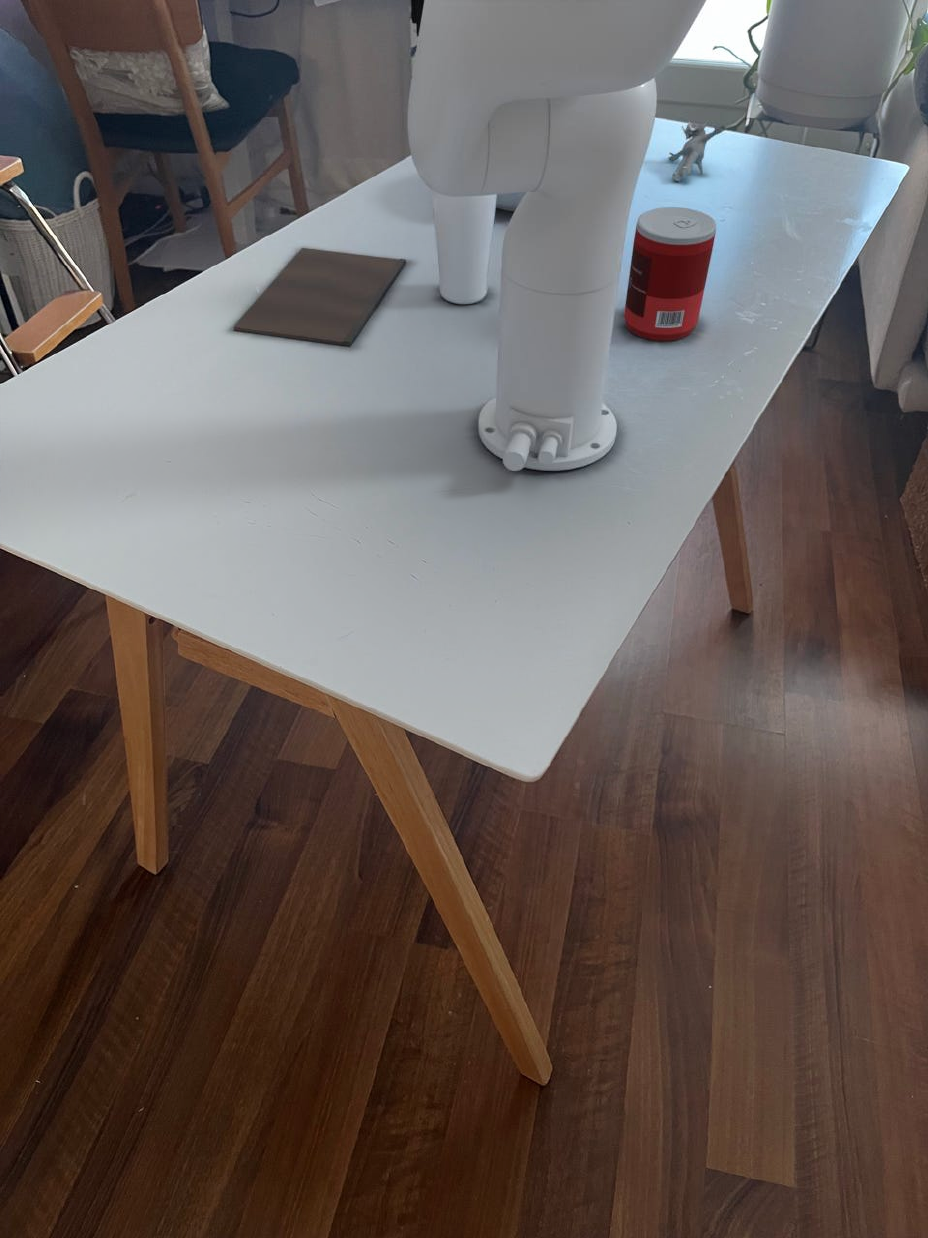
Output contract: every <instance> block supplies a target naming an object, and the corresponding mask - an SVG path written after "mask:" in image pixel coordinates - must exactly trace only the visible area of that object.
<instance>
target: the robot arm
mask: <svg viewBox="0 0 928 1238" xmlns="http://www.w3.org/2000/svg"><path fill="white" fill-rule="evenodd" d="M706 2H707V0H410V13H411V14H410V15H411V17H410V18H411V23H412V24H415V26H416V37H418V38H417V42H416V43H417V44H416V49H415V54H414V55H415V56H414V60H413V61H414V62H413V68H412V73H411V78H410V87H409V94H408V101H407V119H406V122H407V124H406V126H407V139H408V146H409V151H410V156H411V159H412V163H413V165H414V168H415V171H416V172H417V174H418V176H419V177H420V179H421V181H423V183H424V184H425V185H426V186H427V187H428V188H429V189H430V190H431V191H432V190H434V191H435V192H437V193H439V194H442V195H445V196H451V197H469V196H485V195H496V194H507V193H518V192H527V193H526V194H525V196H524V197H523V199H522V200H521V202H520V204H519V205H518V207H517V208H516V210H515V211H513V214H512V216H511V218H510V220H509V222H508V225H507V227H506V230H505V232H504V237H503V242H502V250H501V265H500V288H499V289H500V290H499V291H500V293H499V315H498V316H499V318H498V342H497V343H498V345H497V368H496V369H497V371H496V393H495V394H496V395H495V396H494V397H492V398H490V400H488V401H487V402H486V403H485V405H484V406H483V407H482V408H481V410H480V412H479V415H478V426H477V428H478V436H479V438H480V441H481V442H482V443H483V445H484V446H485V447H486V449H487V450H489V451H490V452H491V453H492V454H493V455H494V456H496V457H498V458H500V459H502V464H503V465H504V467H505V468H506V469H507V470H509V471H513V472H518V471H519V472H520V471H521V470H522V469H524V468H525V469H529V470H536V471H545V472H546V471H549V472H550V471H551V472H559V471H568V470H569V471H570V470H573V469H577V468H582V467H584V466H588V465H591V464H593V463H595V462H596V461H598V460H600V459H602V458H603V457H604V456H605V455H606V454H608V453H609V452H610V451H611V449H612V447H613V446H614V444H615V441H616V436H617V429H618V428H617V427H618V423H617V420H616V417H615V415H614V413H613V412H612V410H611V409H610V408H609V407H608V406H607V405H606V404H605V403H604V398H605V397H604V396H605V389H606V381H607V375H608V374H607V373H608V368H609V367H608V366H609V359H610V351H611V345H612V344H611V343H612V337H613V330H614V322H615V313H616V305H617V299H618V292H619V284H620V275H621V270H622V263H623V255H624V249H625V241H626V236H627V229H628V224H629V222H628V221H629V217H630V213H631V209H632V208H631V207H632V203H633V200H634V195H635V191H636V187H637V184H638V180H639V177H640V174H641V170H642V168H643V164H644V161H645V159H646V154H647V152H648V149H649V145H650V142H651V138H652V135H653V130H654V126H655V120H656V114H657V106H658V104H657V103H658V95H657V94H658V93H657V83H656V77H657V76H658V75H659V74H660V73H662V72H663V71H664V70H665V69H666V67H667V66H668V65H669V64H670V62H671V61H672V59H673V58H674V56H675V55H676V53H677V52H678V50H679V48H680V47H681V45H682V43H683V42H684V40H685V38H686V37H687V36H688V33H689V32H690V30H691V29H692V27H693V25H694V24H695V22H696V20H697V18H698V16H699V14H700V12H701V11H702V9H703V7H704V5H705V4H706Z"/></svg>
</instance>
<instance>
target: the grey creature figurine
mask: <svg viewBox="0 0 928 1238" xmlns="http://www.w3.org/2000/svg"><path fill="white" fill-rule="evenodd" d="M709 123H710V120H705V121H704V122H702V123H700V124H699V123H698V122H695V123H693V122H691V121H688V123H687V125H686V127H684V125H681V129H682V131H683V134H685V140H688V141H686V142H685V143H684V144H683V147H682V149H681V150H680V151H678V152H677V153H673V152H669V155H670V156H669V157H667V159H668V161H669V162H671V163H673V162H675V161H677V160H679V159H680V157H682V159H681V161H680V162H679V164H678V166H677V168H676V170H675V172H673V173H672V175H671V177H672V179H673V180H674V181H675V182H678V183H679V182H681V181H682V179H683V176H684V175H685V176H687V177H689V176H691V173H692V171H693V167H694V165H697V167H698V170H699V172H700V175H701V176H703V163H702V162H703V159H704V157H705V150H706V145H707V143H708V141H710V140H711V139H712V138H714V137H715V136H717V135H719V134H721V133H723V132H724V131H726V128H727V126H726V124H724V123H722V124H721V125H719V126H717V124H716V123H714V124H713V126H714V129H713V131H711V132H709V133H706V130H705V129H706V127H707V126H708V125H709Z"/></svg>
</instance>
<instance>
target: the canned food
mask: <svg viewBox="0 0 928 1238" xmlns="http://www.w3.org/2000/svg"><path fill="white" fill-rule="evenodd" d="M716 231H717V223H716V220H715V219H714V218H713V217H711V216H710V215H709V214H707V213H705V212H703V211H701V210H697V209H692V208H687V207H682V206H681V207H678V206H665V207H658V208H653V209H649V210H647V211H644V212H643V213H641V214H640V215H639V216H638V217H637V221H636V225H635V233H634V237H633V238H634V239H633V244H632V251H631V261H630V267H629V276H628V283H627V290H626V298H625V304H624V305H625V306H624V313H623V318H624V323H625V326H626V328H627V329H628V330H629V331H630V332H631V333H632V334H634V335H635V336H637V337H640V338H642V339H646V340H651V341H656V342H669V341H670V342H671V341H676V340H680V339H683V338H685V337H687V336H689V335H690V334H691V333H693V331H694V329H695V328H696V326H697V324H698V322H699V317H700V313H701V308H702V304H703V297H704V293H705V288H706V283H707V278H708V274H709V270H710V264H711V259H712V254H713V249H714V244H715V240H716V239H715V238H716Z"/></svg>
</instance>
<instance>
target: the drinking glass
mask: <svg viewBox="0 0 928 1238" xmlns="http://www.w3.org/2000/svg"><path fill="white" fill-rule="evenodd" d="M496 199H497V194H496V195H485V196H469V197H451V196H445V195H442V194H439V193H437V192H435V191H434V190H432V189H431V201H432V202H431V203H432V213H433V223H434V232H435V233H434V234H435V241H436V244H435V245H436V253H437V264H438V277H439V278H438V279H439V281H438V282H439V283H438V284H439V293H440V295H441V297H442V298H443V299H444V300H445V301H447V302H450V303H452V304H457V305H471V304H475V303H478V302H480V301H482V300H483V299H484V298H485V297H486V296H487V294H488V287H489V286H488V283H489V280H488V279H489V269H490V259H491V252H492V251H491V250H492V242H493V235H494V234H493V233H494V225H495V216H496V209H497V208H496Z"/></svg>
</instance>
